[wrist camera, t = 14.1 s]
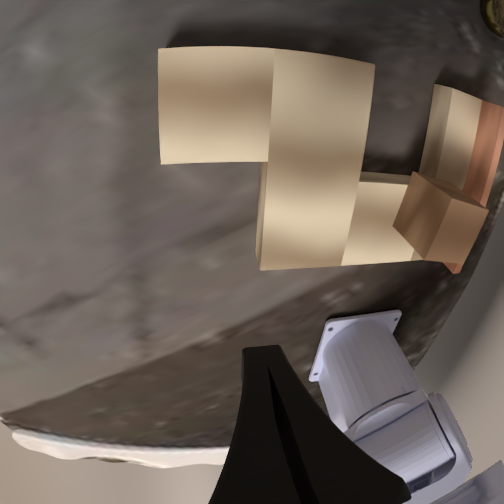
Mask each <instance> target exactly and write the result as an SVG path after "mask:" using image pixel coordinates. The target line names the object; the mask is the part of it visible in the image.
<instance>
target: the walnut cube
mask: <svg viewBox="0 0 504 504" xmlns="http://www.w3.org/2000/svg"><path fill="white" fill-rule="evenodd" d="M488 212H489V210H488V209H487V208H485V207H484V206H483V205H481V204H480V203H478V202H477V201H476V200H474V199H473V198H472V197H470V196H469V195H467V194H466V193H465V192H463V191H462V190H460V189H459V188H457V187H456V186H454V185H453V184H451V183H448V182H445V181H442V180H439V179H436V178H433V177H430V176H427V175H424V174H421V173H418V172H414V171H413V172H412V175H411V178H410V181H409V184H408V186H407V189H406V192H405V195H404V197H403V200H402V203H401V205H400V208H399V210H398V213H397V215H396V218H395V220H394V223H393V225H392V226H393V227H394V228H395V229H396V230H397V231H398V232H399V233H400V234H401V235H402V236H403V238H404V239H405V240H406V241H407V242H408V243H409V244H410V245H411V246H412V247H413V248H414V249H415V250H416V252H417V253H418V254H419V255H420V256H421V257H422V258H423V259H424V260H428V261H439V262H449V263H459V264H464V262H465V260H466V258H467V256H468V254H469V252H470V250H471V248H472V246H473V244H474V242H475V240H476V238H477V236H478V234H479V232H480V229H481V227H482V225H483V223H484V221H485V218H486V216H487V214H488Z"/></svg>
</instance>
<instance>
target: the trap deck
mask: <svg viewBox="0 0 504 504" xmlns="http://www.w3.org/2000/svg"><path fill="white" fill-rule="evenodd" d="M374 73H375V64H371V63H367V62H362V61H357V60H352V59H347V58H342V57H336V56H330V55H324V54H318V53H311V52H303V51H294V50H285V49H274V48H260V47H237V46H199V47H177V48H163V49H158V106H159V135H160V155H161V164H178V163H202V162H261V168H260V185H259V202H258V219H257V236H256V257H257V260H258V264H259V268H260V270H277V269H295V268H313V267H329V266H342V265H358V264H373V263H387V262H401V261H413V260H424V259H423V258H422V257H421V256H420V255H419V254H418V253H417V252H416V250H415V249H414V248H413V247H412V246H411V245H410V244H409V243H408V242H407V241H406V240H405V239H404V238H403V236H402V235H401V234H400V233H399V232H398V231H397V230H396V229H395V228H394V227H393V226H392V225H393V223H394V220H395V218H396V215H397V213H398V210H399V208H400V205H401V203H402V200H403V197H404V195H405V192H406V189H407V186H408V184H409V181H410V178H411V176H408V175H398V174H387V173H375V172H362V171H361V168H362V162H363V156H364V150H365V144H366V137H367V130H368V123H369V116H370V109H371V101H372V92H373V83H374ZM503 140H504V108H503V107H501V106H498V105H495V104H492V103H489V102H486V101H483V100H481V99H478V98H476V97H474V96H471V95H469V94H466V93H464V92H461V91H459V90H456V89H454V88H450V87H446V86H442V85H438V84H434V89H433V96H432V103H431V110H430V116H429V122H428V128H427V134H426V139H425V144H424V149H423V154H422V159H421V163H420V168H419V172H418V173H421V174H424V175H427V176H430V177H433V178H436V179H439V180H442V181H445V182H448V183H451V184H453V185H454V186H456V187H457V188H459V189H460V190H462V191H463V192H465V193H466V194H467V195H469V196H470V197H472V198H473V199H474V200H476V201H477V202H478V203H480V204H481V205H483V206H484V207H485V206H486V203H487V200H488V197H489V194H490V190H491V187H492V184H493V180H494V177H495V173H496V169H497V165H498V161H499V157H500V153H501V149H502V144H503ZM443 263H444V264H445V265H446V266H447V268H448V269H449V270H450V271H451V272H452V273H453V274H455V273H460V271H461V268H462V266H463V264H459V263H449V262H443Z"/></svg>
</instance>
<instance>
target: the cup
mask: <svg viewBox="0 0 504 504" xmlns="http://www.w3.org/2000/svg"><path fill="white" fill-rule="evenodd" d="M481 10H482V16H483V19H484V21H485V23H486V25H487V27H488V28H489V29H490V30H491V31H492V32H493V33H494V34H496V35H497V36H499V37H501V38H504V0H483V2H482V6H481Z"/></svg>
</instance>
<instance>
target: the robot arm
mask: <svg viewBox="0 0 504 504" xmlns="http://www.w3.org/2000/svg"><path fill="white" fill-rule="evenodd" d="M401 315H402V312H401V311H400V310H392V311H385V312H378V313H372V314H364V315H357V316H350V317H342V318H334V319H329V320H328V321H327V322H326V324H325V327H324V330H323V334H322V337H321V340H320V344H319V347H318V350H317V353H316V356H315V360H314V363H313V366H312V369H311V372H310V375H309V381H319V384H320V387H321V390H322V393H323V396H324V399H325V403H326V406H327V409H328V412H329V415H330V418H331V419H330V418H329V417H328V416H327V415H326V414H325V413H324V411H323V410H322V409H321V408H320V406H319V405H318V404H317V403H316V401H315V400H314V399H313V398H312V396H311V395H310V393H309V392H308V391H307V389H306V388H305V386H304V385H303V384H302V382H301V381H300V379H299V378H298V376H297V375H296V373H295V371H294V370H293V368H292V366H291V365H290V363H289V361H288V360H287V358H286V356H285V354H284V352H283V350H282V348H281V346H279V345H270V346H259V347H247V348H244V349H243V350H242V373H241V378H242V395H241V402H240V407H239V412H238V417H237V422H236V426H235V430H234V434H233V438H232V441H231V445H230V448H229V451H228V454H227V458H226V461H225V464H224V467H223V469H222V472H221V475H220V477H219V480H218V482H217V485H216V488H215V490H214V492H213V494H212V497H211V499H210V501H209V503H208V504H504V465H503V463H502V461H501V460H500V461H498V462H497V463H495V464H494V465H493V466H491V467H489V468H488V469H487V470H485V471H484V472H482V473H480V474H478V475H476V476H475V477H473V478H471V479H470V480H468V481H467V482H465V483H464V481H465V479H466V478H467V476H468V474H469V473H470V471H471V468H472V465H471V462H472V456H471V454H470V451H469V449H468V447H467V442H466V439H465V437H464V435H463V433H462V431H461V429H460V427H459V425H458V423H457V421H456V419H455V417H454V415H453V413H452V411H451V409H450V407H449V405H448V403H447V402H446V400H445V398H444V396H443V395H442V394H440V393H435V392H432V393H430V394H429V395H428V396H427V395H426V393H425V392H424V391H423V389H422V387H421V385H420V383H419V381H418V380H417V378H416V376H415V374H414V372H413V370H412V368H411V367H410V365H409V363H408V361H407V359H406V357H405V356H404V354H403V352H402V350H401V348H400V347H399V345H398V343H397V341H396V340H395V338H394V336H393V332H394V330H395V327H396V325H397V323H398V321H399V319H400V317H401Z"/></svg>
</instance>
